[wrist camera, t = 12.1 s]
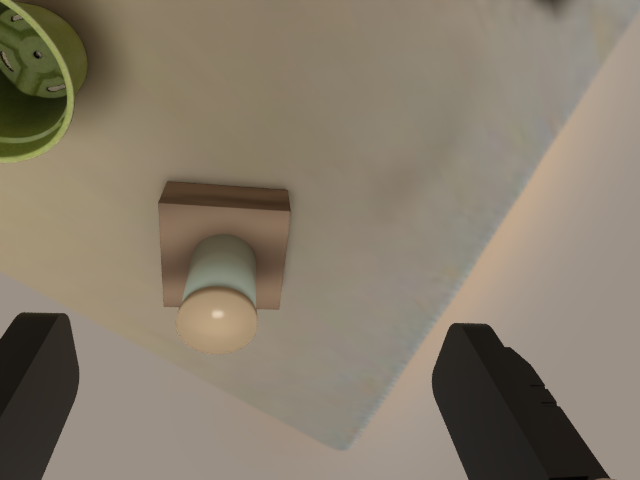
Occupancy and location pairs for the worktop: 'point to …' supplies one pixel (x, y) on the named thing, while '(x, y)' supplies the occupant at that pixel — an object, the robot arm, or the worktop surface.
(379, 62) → the worktop surface
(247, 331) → the jar
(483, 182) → the worktop surface
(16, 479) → the robot arm
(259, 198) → the plinth
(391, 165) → the worktop surface
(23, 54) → the plant pot
